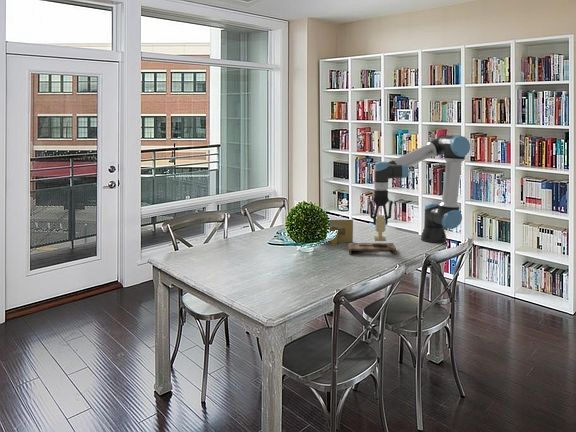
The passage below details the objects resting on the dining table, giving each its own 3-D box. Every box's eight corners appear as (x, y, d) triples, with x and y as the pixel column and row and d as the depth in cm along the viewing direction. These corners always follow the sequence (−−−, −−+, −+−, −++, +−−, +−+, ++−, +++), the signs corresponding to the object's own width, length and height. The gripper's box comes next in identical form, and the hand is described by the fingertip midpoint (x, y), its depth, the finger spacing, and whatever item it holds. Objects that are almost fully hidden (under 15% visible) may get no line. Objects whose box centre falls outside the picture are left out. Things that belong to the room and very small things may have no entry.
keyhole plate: (392, 248, 294) (392, 242, 293) (395, 254, 281) (396, 248, 281) (348, 248, 296) (348, 243, 295) (349, 254, 283) (349, 248, 283)
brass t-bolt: (384, 238, 290) (385, 214, 287) (385, 241, 284) (386, 216, 281) (374, 238, 290) (374, 214, 288) (375, 241, 284) (375, 216, 282)
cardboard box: (352, 241, 313) (352, 218, 309) (353, 246, 304) (353, 223, 300) (315, 241, 315) (315, 218, 311) (314, 246, 307) (314, 223, 302)
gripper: (366, 190, 278) (365, 231, 283) (397, 190, 277) (396, 231, 282) (365, 188, 286) (364, 228, 290) (395, 188, 285) (394, 229, 289)
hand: (380, 230), depth 286 cm, fingers closed on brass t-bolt, 4 cm apart
